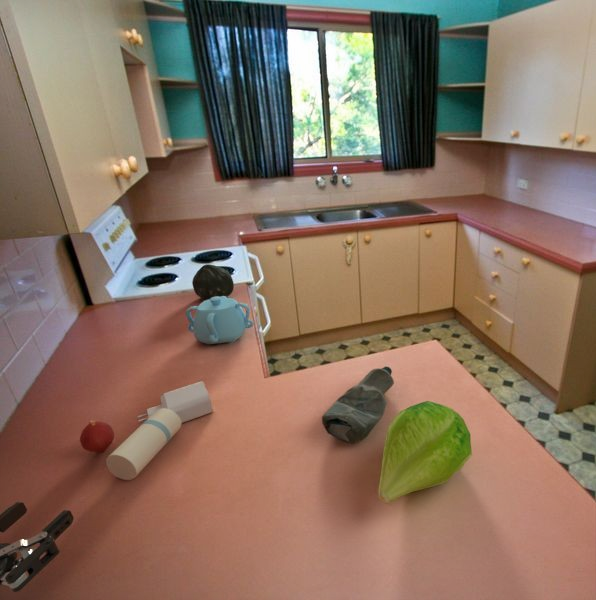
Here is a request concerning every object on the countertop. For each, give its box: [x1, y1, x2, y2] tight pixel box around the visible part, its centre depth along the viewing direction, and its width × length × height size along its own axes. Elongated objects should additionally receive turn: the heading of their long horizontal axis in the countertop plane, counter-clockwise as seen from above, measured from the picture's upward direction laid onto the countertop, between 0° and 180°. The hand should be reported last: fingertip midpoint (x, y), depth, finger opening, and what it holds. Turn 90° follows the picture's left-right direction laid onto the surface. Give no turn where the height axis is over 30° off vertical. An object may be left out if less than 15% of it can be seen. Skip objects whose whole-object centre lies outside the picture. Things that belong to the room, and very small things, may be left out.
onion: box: [79, 420, 115, 453], centre depth 89 cm, size 6×6×8 cm
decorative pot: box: [185, 296, 254, 345], centre depth 134 cm, size 16×16×14 cm
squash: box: [191, 263, 235, 302], centre depth 165 cm, size 14×15×15 cm
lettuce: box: [378, 400, 473, 504], centre depth 79 cm, size 15×22×15 cm
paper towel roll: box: [105, 408, 182, 481], centre depth 88 cm, size 6×6×14 cm
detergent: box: [321, 366, 395, 444], centre depth 99 cm, size 13×7×25 cm
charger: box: [137, 380, 214, 424], centre depth 100 cm, size 5×9×15 cm
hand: (46, 509), depth 64 cm, fingers open, 8 cm apart
